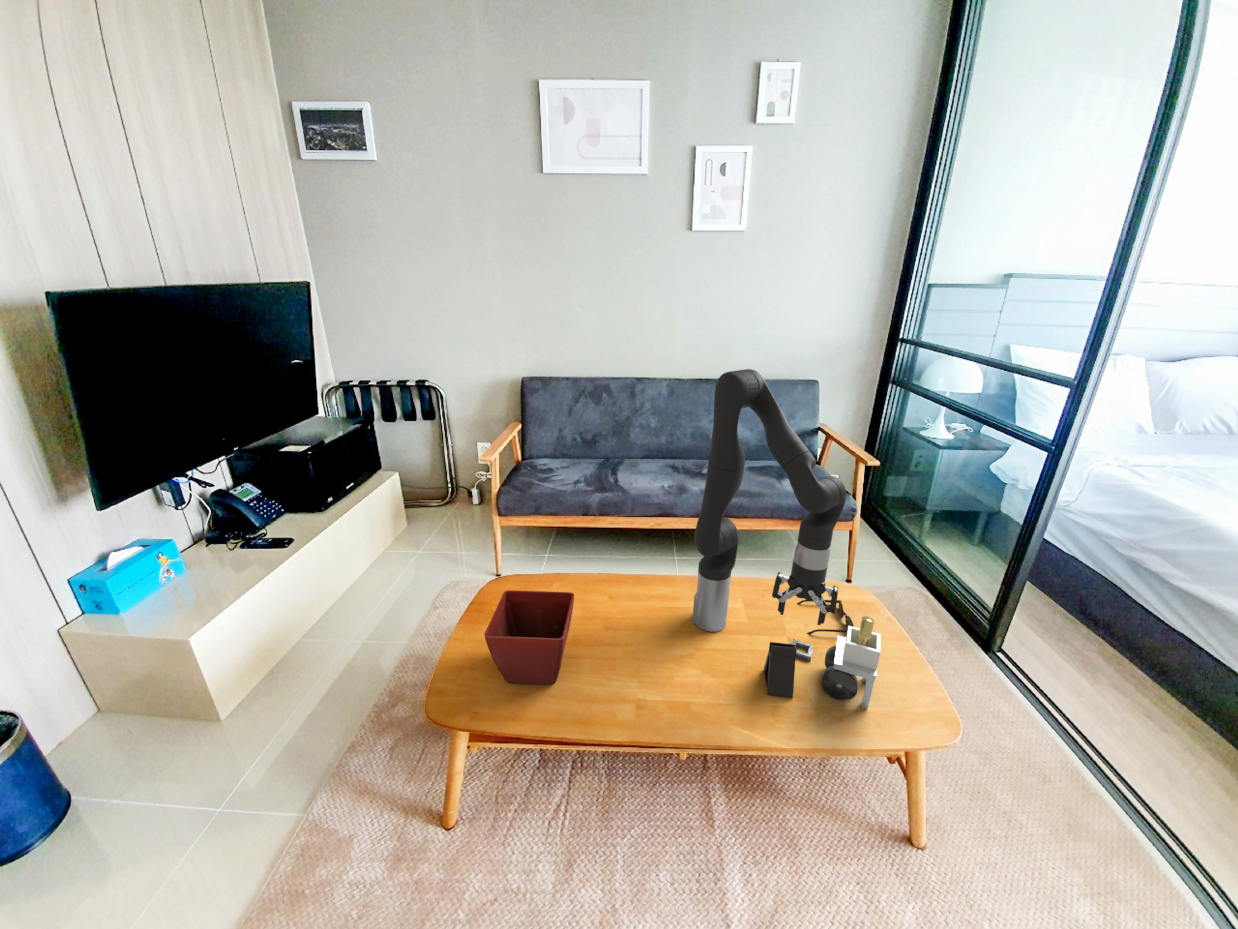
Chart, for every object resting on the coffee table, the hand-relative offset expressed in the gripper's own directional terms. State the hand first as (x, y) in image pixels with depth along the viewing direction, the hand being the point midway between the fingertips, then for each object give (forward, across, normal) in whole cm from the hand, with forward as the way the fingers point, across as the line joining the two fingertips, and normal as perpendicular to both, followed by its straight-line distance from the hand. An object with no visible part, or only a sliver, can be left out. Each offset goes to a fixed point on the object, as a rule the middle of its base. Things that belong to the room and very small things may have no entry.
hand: (800, 618), depth 122 cm
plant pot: (+20, -61, -23) cm, 69 cm away
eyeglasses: (+20, +5, +29) cm, 36 cm away
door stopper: (+20, -2, -2) cm, 20 cm away
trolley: (+19, +11, +4) cm, 23 cm away
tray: (+9, +15, +4) cm, 18 cm away
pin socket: (+20, +2, +12) cm, 23 cm away
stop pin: (+8, +15, +4) cm, 17 cm away
